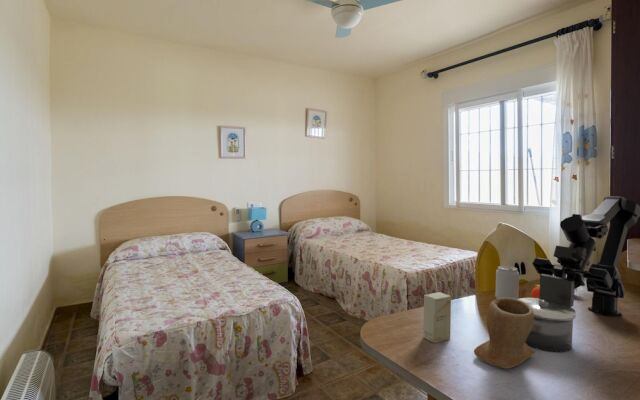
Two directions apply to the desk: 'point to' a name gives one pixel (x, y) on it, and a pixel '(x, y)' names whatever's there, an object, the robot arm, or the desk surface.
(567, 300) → the lid
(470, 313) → the desk surface
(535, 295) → the clementine
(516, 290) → the can
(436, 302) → the skincare box
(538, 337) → the pot
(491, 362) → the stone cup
